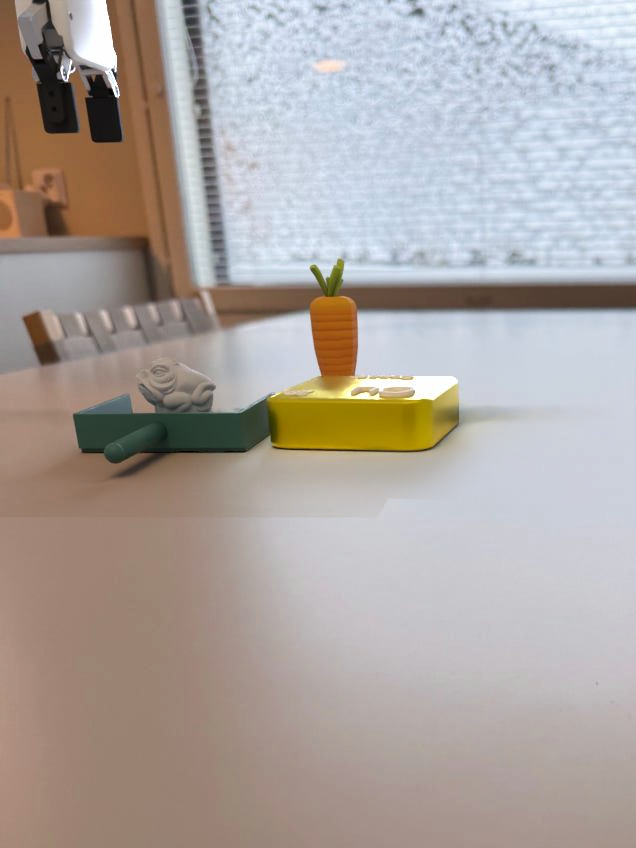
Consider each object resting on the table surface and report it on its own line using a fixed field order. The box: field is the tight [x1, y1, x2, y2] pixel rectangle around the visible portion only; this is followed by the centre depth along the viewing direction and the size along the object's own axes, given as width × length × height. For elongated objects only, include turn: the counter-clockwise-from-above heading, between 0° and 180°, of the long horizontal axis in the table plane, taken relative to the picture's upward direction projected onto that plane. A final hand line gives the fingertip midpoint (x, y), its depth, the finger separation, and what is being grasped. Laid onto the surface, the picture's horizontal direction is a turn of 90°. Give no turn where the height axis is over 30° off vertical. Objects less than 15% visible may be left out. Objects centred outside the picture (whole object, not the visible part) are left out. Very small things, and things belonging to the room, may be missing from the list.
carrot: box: [309, 258, 359, 376], centre depth 102 cm, size 5×5×15 cm
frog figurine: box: [134, 356, 217, 413], centre depth 87 cm, size 6×7×7 cm
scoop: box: [72, 392, 276, 465], centre depth 83 cm, size 21×15×3 cm
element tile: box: [267, 374, 460, 452], centre depth 88 cm, size 15×15×5 cm
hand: (86, 137), depth 92 cm, fingers open, 9 cm apart
